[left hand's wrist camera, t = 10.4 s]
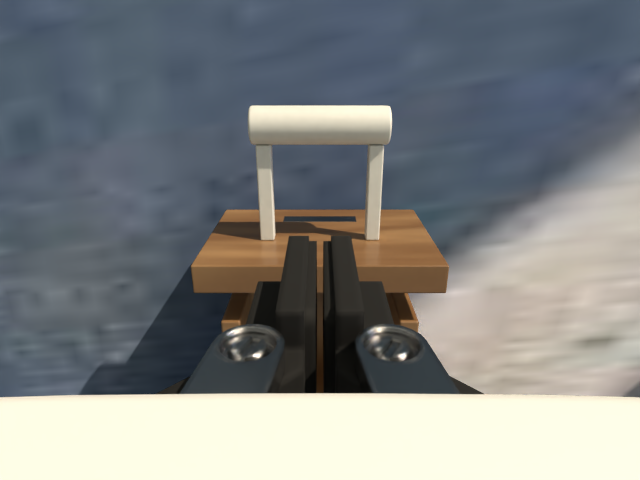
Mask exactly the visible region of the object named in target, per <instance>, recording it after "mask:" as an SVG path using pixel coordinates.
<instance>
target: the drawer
mask: <svg viewBox="0 0 640 480" xmlns="http://www.w3.org/2000/svg"><path fill="white" fill-rule="evenodd" d="M391 130H392V113H391V108H390V106H250V108H249V111H248V132H249V139H250V142H251V144H253V145H256V160H257V179H258V198H259V210H226V211H225V213H224V215H223V216H222V218H221V219H220V221H219V222H218V224H217V226H216V227H215V229H214V230H213V232H212V234H211V235H210V237H209V238H208V240H207V241H206V243H205V245H204V246H203V248H202V249H201V251H200V252H199V254H198V256H197V257H196V259H195V260H194V262H193V263H192V265H191V273H192V281H193V290H194V293H232V295H231V298H230V300H229V303H228V306H227V308H226V311H225V314H224V316H223V319H222V321H221V327H222V332H224V331H226V330H227V329H230V328H233V327H236V326H240V325H246V322H247V318H248V315H249V311H250V308H251V304H252V301H253V297H254V294H255V290H256V286H257V283H258V281H281V277H282V272H283V266H284V261H285V255H286V250H287V244H288V238H289V236H309V241H317V390H316V393H324V390H323V241H331V236H351V238H352V244H353V250H354V255H355V261H356V266H357V272H358V277H359V281H382V283H383V286H384V290H385V294H386V297H387V301H388V304H389V308H390V311H391V315H392V318H393V322H394V325H400V326H404V327H407V328H410V329H413V330H414V331H416V332H418V325H419V322H418V319H417V317H416V314H415V311H414V309H413V306H412V303H411V301H410V298H409V296H408V293H446V288H447V279H448V271H449V265H448V264H447V262H446V261H445V259H444V257H443V256H442V254H441V253H440V251H439V250H438V248H437V246H436V245H435V243H434V242H433V240H432V239H431V237H430V235H429V234H428V232H427V231H426V229H425V228H424V226H423V224H422V223H421V221H420V220H419V218H418V217H417V215H416V213H415V212H414V210H381V193H382V174H383V155H384V146H383V145H386V144H388V143H389V141H390V138H391ZM272 145H368V157H367V183H366V208H365V210H274V188H273V162H272Z"/></svg>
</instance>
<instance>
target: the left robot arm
mask: <svg viewBox="0 0 640 480" xmlns="http://www.w3.org/2000/svg"><path fill="white" fill-rule="evenodd" d="M316 390H317V241H309V236H289V238H288V244H287V250H286V255H285V261H284V266H283V272H282V277H281V281H258V283H257V286H256V290H255V294H254V297H253V301H252V304H251V308H250V311H249V315H248V318H247V322H246V325H240V326H236V327H233V328H230V329H227V330H226V331H224V332H222V333H221V334H219V335H218V336H217V337H216V338H215V340H214V341H213V342H212V344H211V345H210V347H209V348H208V350H207V352H206V353H205V355H204V356H203V358H202V359H201V361H200V362H199V364H198V366H197V367H196V369H195V370H194V372H193V373H192V375H191V376H190V377H188V378H186V379H184V380H182V381H180V382H178V383H176V384H174V385H172V386H170V387H168V388H166V389H164V390H163V391H161V392H159V393H157V394H143V395H64V396H33V397H1V398H0V480H640V398H639V397H608V396H571V395H499V394H483V393H481V392H479V391H477V390H476V389H474V388H472V387H470V386H468V385H466V384H464V383H462V382H460V381H458V380H456V379H454V378H452V377H450V376H449V375H448V373H447V372H446V370H445V369H444V367H443V366H442V364H441V362H440V361H439V359H438V358H437V356H436V355H435V353H434V352H433V350H432V348H431V347H430V345H429V344H428V342H427V341H426V340H425V338H424V337H423V336H422V335H421V334H419V333H418V332H416V331H414V330H413V329H410V328H407V327H404V326H400V325H394V322H393V318H392V315H391V311H390V308H389V304H388V301H387V297H386V294H385V290H384V286H383V283H382V281H359V277H358V272H357V266H356V261H355V255H354V250H353V244H352V238H351V236H331V241H323V390H324V393H316Z"/></svg>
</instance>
